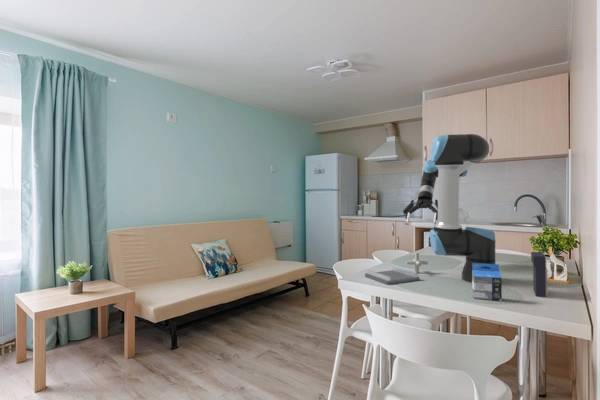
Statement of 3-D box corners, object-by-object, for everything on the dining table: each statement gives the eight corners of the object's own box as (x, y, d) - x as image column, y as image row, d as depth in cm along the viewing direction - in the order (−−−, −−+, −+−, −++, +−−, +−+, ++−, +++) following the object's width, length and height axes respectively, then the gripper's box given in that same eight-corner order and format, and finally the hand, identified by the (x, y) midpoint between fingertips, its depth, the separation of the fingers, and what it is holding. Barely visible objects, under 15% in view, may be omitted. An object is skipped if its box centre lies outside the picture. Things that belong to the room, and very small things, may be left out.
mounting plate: (419, 280, 145) (419, 273, 145) (386, 284, 138) (386, 277, 138) (395, 272, 160) (395, 266, 160) (364, 276, 153) (364, 270, 153)
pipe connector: (424, 270, 165) (424, 250, 165) (430, 275, 155) (430, 254, 155) (404, 270, 166) (404, 250, 166) (409, 274, 156) (408, 254, 156)
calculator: (548, 297, 118) (547, 256, 118) (533, 296, 120) (533, 255, 120) (545, 290, 127) (544, 252, 127) (531, 289, 129) (531, 251, 130)
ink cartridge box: (473, 298, 117) (473, 264, 118) (472, 295, 121) (471, 262, 121) (502, 301, 114) (501, 266, 114) (499, 298, 118) (499, 264, 118)
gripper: (450, 199, 179) (447, 229, 166) (404, 200, 192) (397, 227, 179) (449, 189, 174) (445, 219, 161) (402, 190, 187) (395, 218, 174)
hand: (420, 223), depth 170 cm, fingers open, 13 cm apart
